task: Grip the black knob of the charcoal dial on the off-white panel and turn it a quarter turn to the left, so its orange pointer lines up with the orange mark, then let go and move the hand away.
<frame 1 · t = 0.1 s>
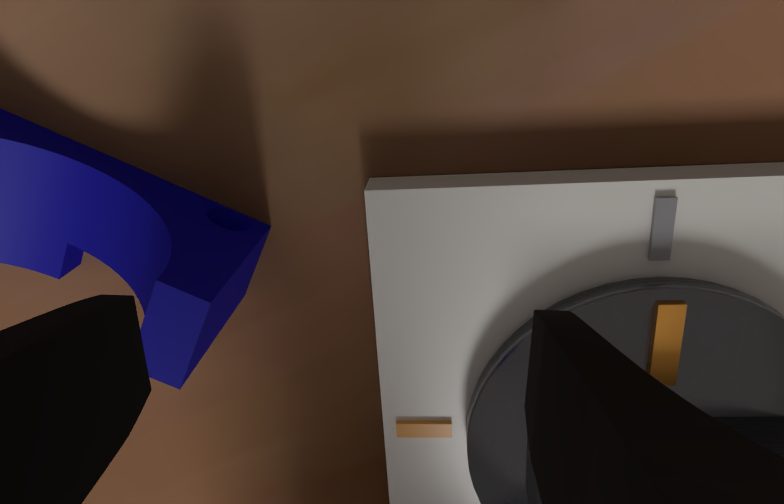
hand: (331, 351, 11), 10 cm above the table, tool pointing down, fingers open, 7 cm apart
dial panel: (625, 401, 22), on the table
blue cradle block: (98, 208, 21), on the table
dial: (662, 481, 19), point 4 cm above the table, hinge at 0.0°
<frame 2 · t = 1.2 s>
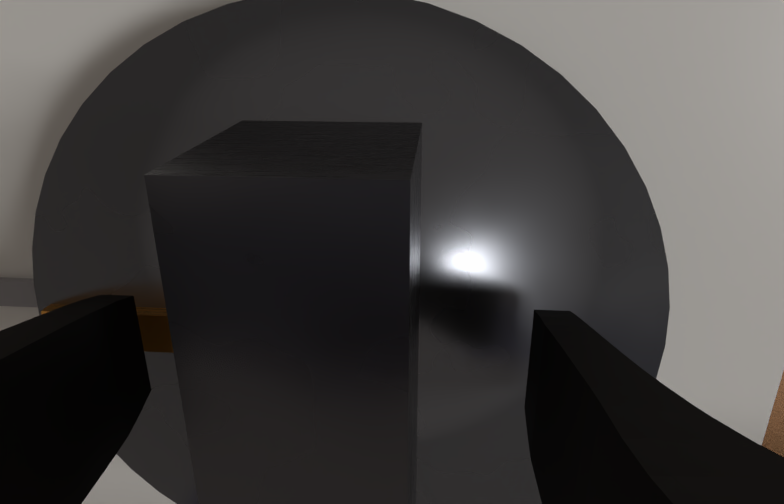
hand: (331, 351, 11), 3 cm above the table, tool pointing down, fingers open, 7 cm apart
dial panel: (359, 272, 14), on the table
dial: (327, 370, 10), point 4 cm above the table, hinge at 0.0°
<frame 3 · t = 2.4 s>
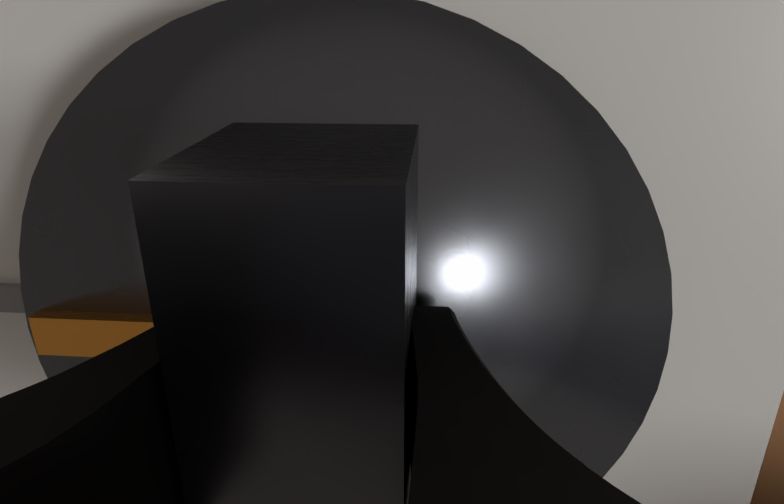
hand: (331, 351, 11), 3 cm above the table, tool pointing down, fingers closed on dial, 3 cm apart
dial panel: (355, 276, 14), on the table
dial: (322, 378, 10), point 4 cm above the table, hinge at 0.0°, touching gripper
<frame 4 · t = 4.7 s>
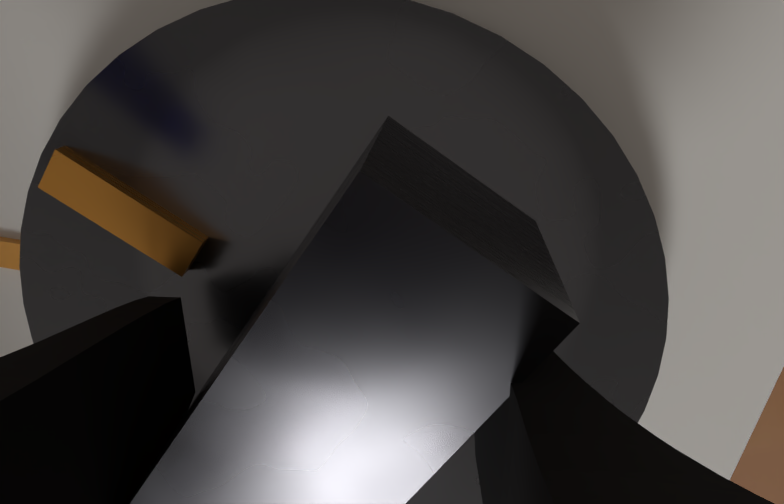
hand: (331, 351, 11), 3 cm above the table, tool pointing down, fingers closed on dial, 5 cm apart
dial panel: (354, 276, 14), on the table
dial: (320, 377, 10), point 4 cm above the table, hinge at 63.7°, touching gripper
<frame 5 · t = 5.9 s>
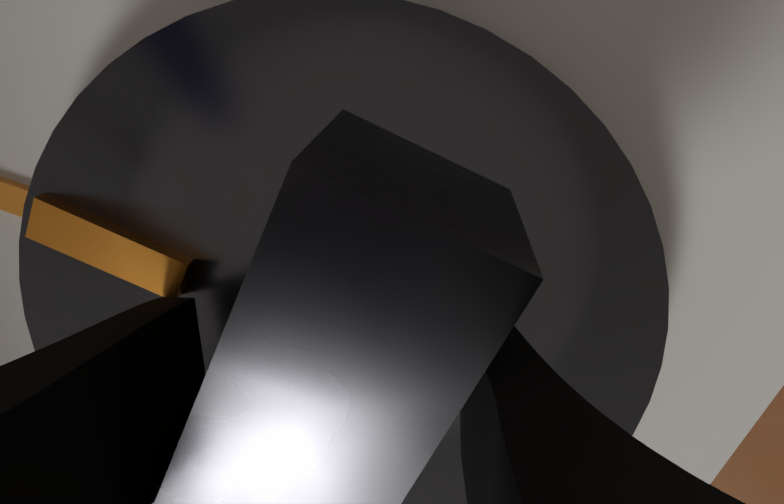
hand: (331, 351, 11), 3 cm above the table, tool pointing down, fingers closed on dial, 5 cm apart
dial panel: (354, 277, 14), on the table
dial: (320, 379, 10), point 4 cm above the table, hinge at 84.2°, touching gripper
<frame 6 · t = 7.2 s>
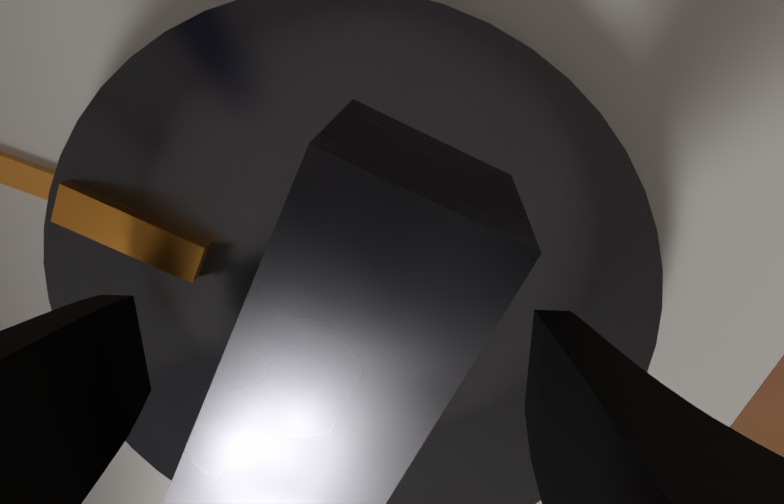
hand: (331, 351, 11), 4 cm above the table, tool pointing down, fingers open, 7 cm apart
dial panel: (361, 263, 14), on the table
dial: (331, 355, 10), point 4 cm above the table, hinge at 85.1°
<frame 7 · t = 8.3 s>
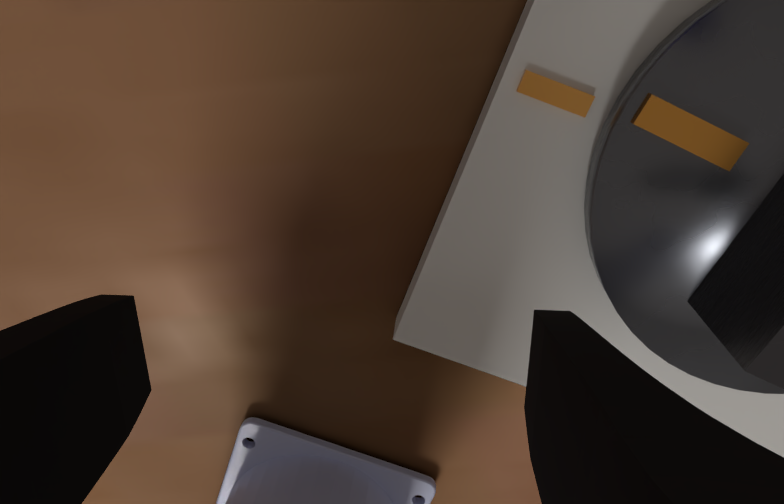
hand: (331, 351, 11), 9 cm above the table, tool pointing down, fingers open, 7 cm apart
dial panel: (774, 174, 18), on the table
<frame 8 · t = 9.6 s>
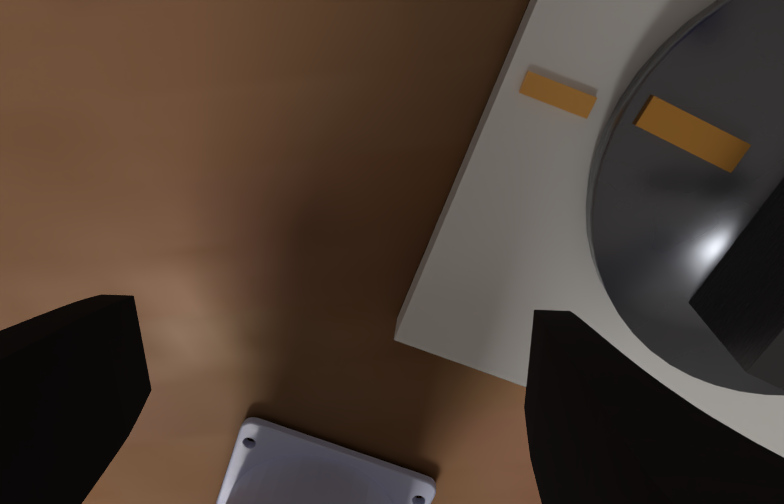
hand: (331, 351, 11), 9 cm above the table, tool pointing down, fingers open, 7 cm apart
dial panel: (775, 175, 18), on the table
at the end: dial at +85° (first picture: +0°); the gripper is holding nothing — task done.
